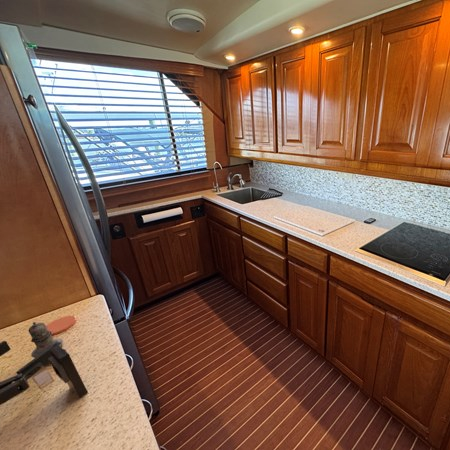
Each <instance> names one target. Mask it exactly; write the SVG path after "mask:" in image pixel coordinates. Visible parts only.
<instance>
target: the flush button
mask: <svg viewBox="0 0 450 450" xmlns="http://www.w3.org/2000/svg"><path fill="white" fill-rule="evenodd" d="M32 380H33V382H34V383H35V385H36V386H37V388H38V389H39V390H40V391H41V390H44V388H47V387H48V386H49V385H51V384H53V383H54V382H55V379H54V378H53V376H52V375H51V373H50V372H49V371H48V370H47V369H44V370H42V371H41V372H39V373H37V374H36V375H33V376H32Z"/></svg>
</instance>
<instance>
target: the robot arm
mask: <svg viewBox="0 0 450 450" xmlns="http://www.w3.org/2000/svg"><path fill="white" fill-rule="evenodd" d="M52 348H53V347H49V348H48V349H46V350H45V351H44V352H42V353H41V354H40V355H38V356H37V357H36V358H33V359H32V360H30V361H29V362H27V363H26V364H24V366H22V367H21V368H20V369H18V370H17V371H16V372H15V373H16V375H13V376H10V377H8V378H6V379H4V380H1V381H0V406H1V405H3V404H5V403H6V402H8V401H10V400H12V399H13V398H15V397H16V396H18V395H20V394H22V393H24V392H25V391H27V390H28V389H29V388H30V384H29V383H28V380H29V379H30V378H33V377H34V376H35V374H36V375H37V374H38V372H39V371H41V370H42V369H43V368H44V367H43V366H44V365H46V364H47V363H48V362H49V360H48V358H50V357H52V354H51V352H50V349H52ZM11 350H12V348H11V347H10V344H9V343H8V342H7V341H6V340H2V341H0V357H2V356H3V355H5V354H6V353H8V352H9V351H11Z"/></svg>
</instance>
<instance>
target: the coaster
mask: <svg viewBox="0 0 450 450" xmlns="http://www.w3.org/2000/svg"><path fill="white" fill-rule="evenodd" d="M77 321H78V320H77V317H76V316H74V315H65V316H61V317H59V318H56V319H54V320H53V321H51V322H49V323H48V324H45V325H46V327H47V329H48V331H51V332H52V333H51V336H54V335H57V334H61V333H63V332H65V331H67V330H69V329H70V328H71V327H73V326H74V325H75V324H76V323H77Z"/></svg>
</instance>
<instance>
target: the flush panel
mask: <svg viewBox="0 0 450 450" xmlns="http://www.w3.org/2000/svg"><path fill="white" fill-rule="evenodd" d="M64 349H65V348H63V346H62V347H60V346H59V345H57V346H55V347H54V348H52V349H50V352H51V354H52V357H50V358H48V360H49V362H50V364H51V365H50V366H51V367H52V369H53V371H54V373H55V375H56V377H57V376H58V378H59V379H60V380H61V381H62V382H63V383H64V384H67V385H68V387H69V389H70V390H71V391H72V392H73V394H75V395H76V396H77V397H78V398H79V399H81V398H83V397H84V396H86V395H87V394H88V393H89V392H88V390H87V387H86V385H85V384H84V381H83V379H82V378H81V375H80V373H79V372H78V370H77V368H76V365H75V364H74V363H75V362H74V361H73V359H72V357H71V356H70V353H68V352H67V350H66V349H65V350H66V351H65V350H64Z"/></svg>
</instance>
